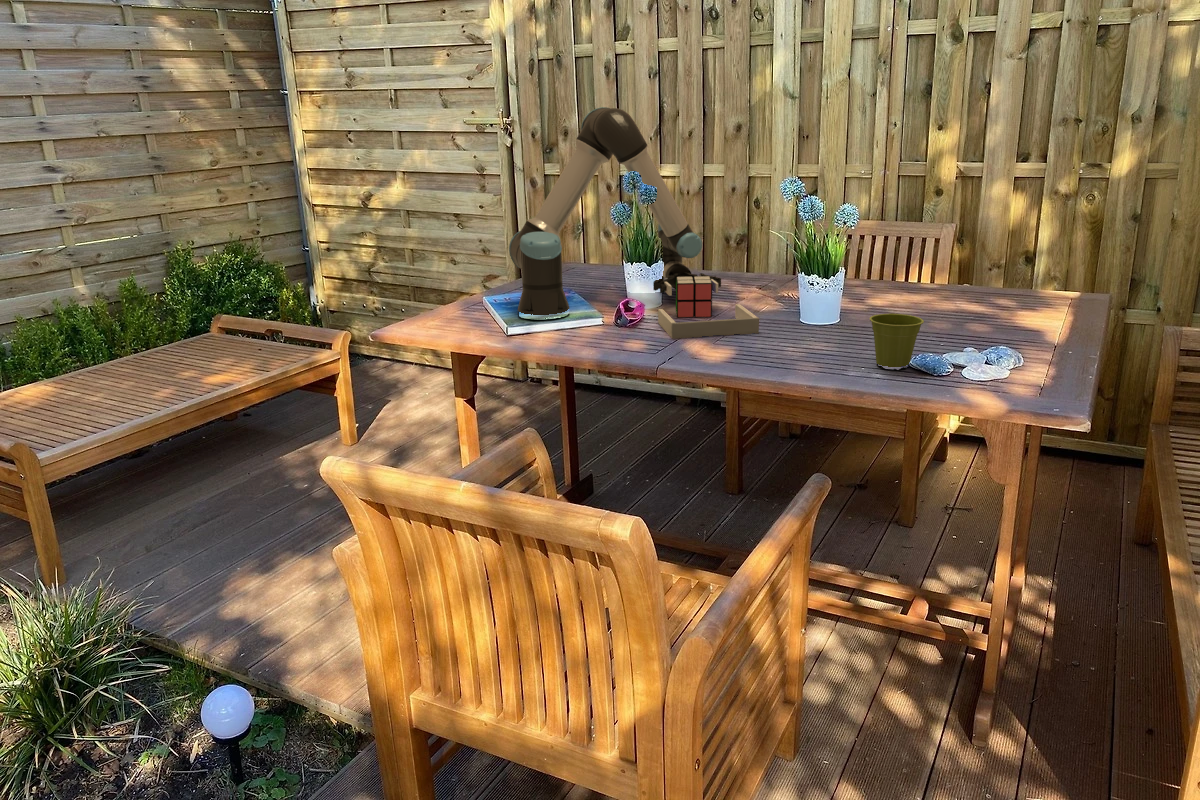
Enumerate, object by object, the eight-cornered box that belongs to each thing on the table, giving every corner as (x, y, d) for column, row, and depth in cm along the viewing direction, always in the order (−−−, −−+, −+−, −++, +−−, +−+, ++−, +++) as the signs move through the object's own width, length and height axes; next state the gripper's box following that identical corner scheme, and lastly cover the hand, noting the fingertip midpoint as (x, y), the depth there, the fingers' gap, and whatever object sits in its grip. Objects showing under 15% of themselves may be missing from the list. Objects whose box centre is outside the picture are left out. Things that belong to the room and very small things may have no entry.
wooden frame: (658, 323, 260) (658, 309, 259) (739, 318, 264) (739, 304, 262) (672, 338, 244) (672, 324, 243) (758, 333, 247) (759, 318, 246)
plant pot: (928, 372, 211) (932, 324, 207) (876, 375, 210) (880, 326, 206) (907, 358, 222) (911, 311, 218) (859, 360, 221) (862, 314, 217)
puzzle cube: (712, 317, 265) (712, 283, 262) (676, 318, 266) (676, 283, 263) (709, 309, 275) (710, 276, 271) (675, 310, 275) (675, 276, 272)
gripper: (716, 285, 288) (736, 299, 268) (637, 289, 285) (650, 304, 265) (717, 261, 286) (736, 274, 266) (637, 265, 283) (650, 278, 263)
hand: (693, 289), depth 265 cm, fingers open, 13 cm apart
